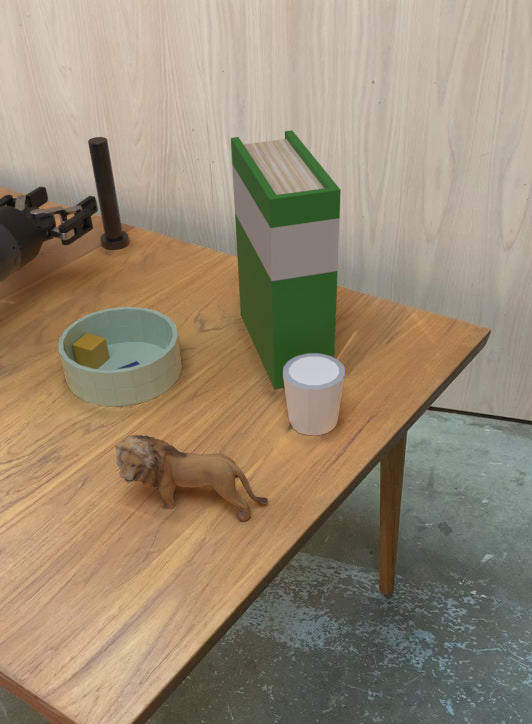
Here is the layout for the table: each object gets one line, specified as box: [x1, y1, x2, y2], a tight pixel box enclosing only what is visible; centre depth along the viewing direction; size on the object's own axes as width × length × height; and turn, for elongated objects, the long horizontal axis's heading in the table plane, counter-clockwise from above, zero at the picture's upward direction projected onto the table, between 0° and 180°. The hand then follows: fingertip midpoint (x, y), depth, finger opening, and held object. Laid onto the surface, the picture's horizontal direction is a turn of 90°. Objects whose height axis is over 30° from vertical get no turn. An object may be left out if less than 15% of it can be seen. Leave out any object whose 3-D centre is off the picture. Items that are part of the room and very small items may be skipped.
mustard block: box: [72, 333, 110, 369], centre depth 98 cm, size 3×3×3 cm
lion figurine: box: [114, 434, 269, 522], centre depth 77 cm, size 15×5×9 cm, turn 90°
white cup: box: [283, 353, 346, 436], centre depth 87 cm, size 7×7×7 cm
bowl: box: [58, 306, 183, 408], centre depth 96 cm, size 14×14×6 cm
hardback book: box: [230, 129, 342, 390], centre depth 92 cm, size 18×7×24 cm, turn 15°
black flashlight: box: [87, 136, 130, 251], centre depth 118 cm, size 4×4×16 cm
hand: (69, 197), depth 111 cm, fingers open, 8 cm apart
